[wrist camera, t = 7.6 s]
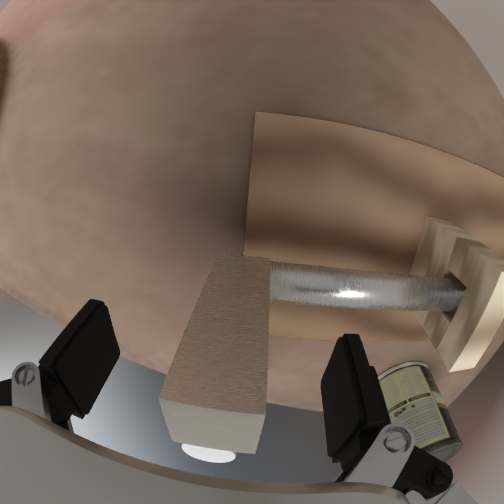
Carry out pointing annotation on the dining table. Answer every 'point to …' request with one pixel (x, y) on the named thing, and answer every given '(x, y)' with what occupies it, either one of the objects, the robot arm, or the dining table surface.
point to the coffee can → (420, 408)
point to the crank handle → (265, 338)
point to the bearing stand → (377, 229)
